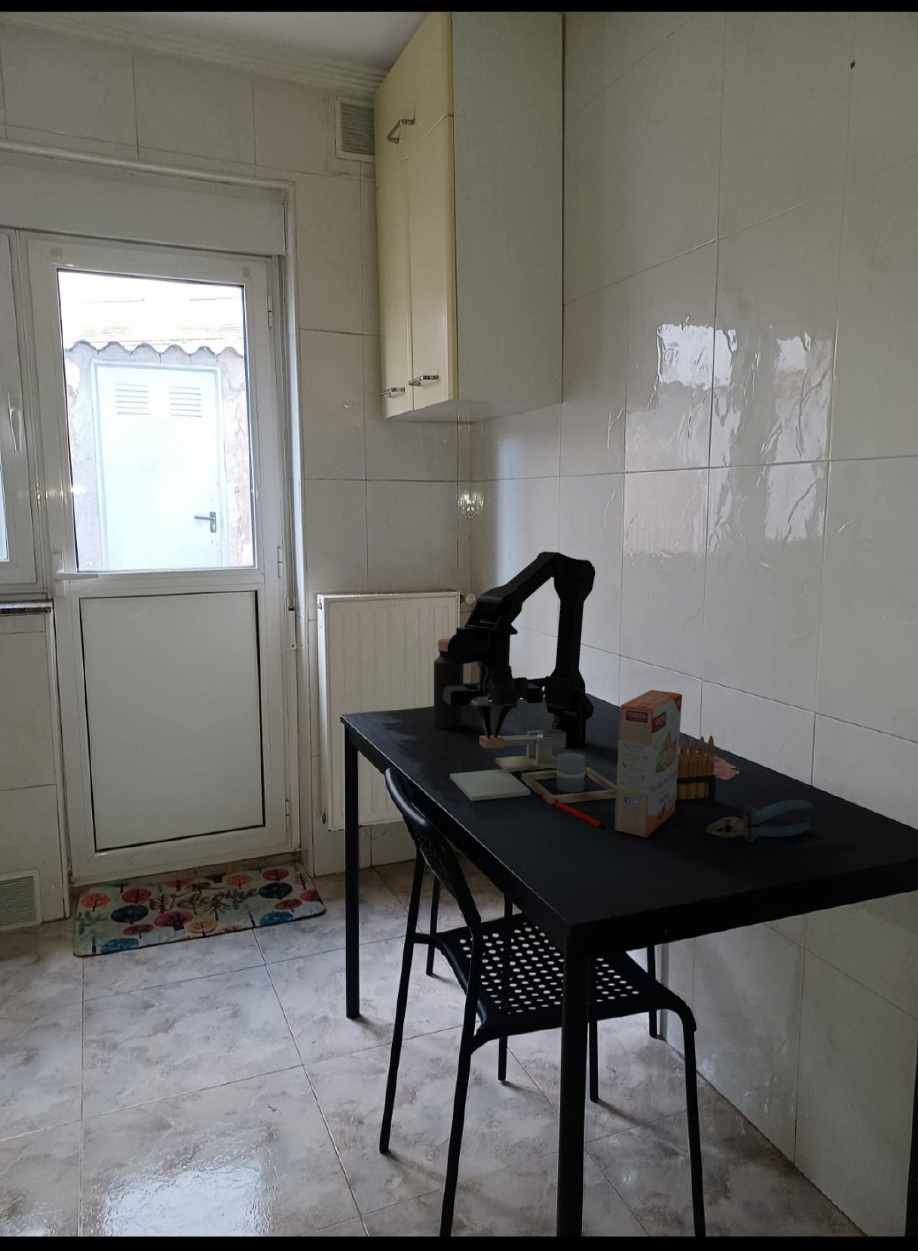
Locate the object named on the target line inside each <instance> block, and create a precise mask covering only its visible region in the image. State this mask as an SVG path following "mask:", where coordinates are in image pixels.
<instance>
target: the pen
mask: <svg viewBox="0 0 918 1251" xmlns="http://www.w3.org/2000/svg"><path fill="white" fill-rule="evenodd" d="M536 796H537V797H539V799H541V798H542V800H543V801H545V798H544V796H543V794H542V793H541V795H540V794H538V793H536ZM552 806H555V807H557V808H559V809H562V810H564V811H565V812H568V813H569V814H572V815H574V816H576V817H578V818H579V819H581V820H584V821H585V822H588V823H590V824H592V825H594V826H596V827H598V828H600V829H604V830H605V831H606V830H609V828H608V827H607V826H606V825H605V824H604V823H602V822H600V821H598V820H597V819H594V818H592V817H590V816H589V815H586V814H584V813H582V812H580V811H578V810H576V809H573V808H572V807H570V806H567V805H565V803H560V802H558V800H555V801H554V803H553V804H552Z"/></svg>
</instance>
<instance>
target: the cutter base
mask: <svg viewBox="0 0 918 1251" xmlns="http://www.w3.org/2000/svg"><path fill="white" fill-rule="evenodd" d="M526 735H537V730H527V731H526ZM552 746H553V738H552V737H542V738H536V745H526V755H517V756H507V757H495V758H494V762H495V763H496V764H497V765H498V766H499V767H500V769H506V770H507V771H508V772H510V773H516V772H515V771H521V772H523V771H522V770H532V771H535V770H534V769H543V770H545V769H544V768H553V769H557V756H555V755H554V754H553V749H552Z"/></svg>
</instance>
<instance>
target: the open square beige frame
mask: <svg viewBox="0 0 918 1251" xmlns="http://www.w3.org/2000/svg"><path fill="white" fill-rule="evenodd" d="M585 776H587V777H588V778H590V779H591V780H592V781H594V782H595V783H596V784H598V785H599V786H600V787H602V788H604V790H595V791H594V790H593V791H585V792H583V791H582V792H578V793H564V794H556V795H554V794H553V793H552V792H550V791H549V790H547V789H546V788H545V787H543V786H542V784H540V783H539V782H537V780H538V781H539V779H540V780H549V778H551V779H557V769H554V770H552V769H551V770H540V771H533V772H532V771H530V772H523V773H521V772H520V780H521V781H522V780H523V781H524V782H525V783H526V784H525V785H527V786H528V785H529V786H530V787H531V788H532V789H533V790H532V789H531V788H530V787H529V786H528V787H529V788H530V789H531V790H532V791H533V792H535V793H536V792H537V793H538V794H540V795H541V793H542V794H543V796H544V798H545V800H544V801H545V802H546V803H548V804H549V805H553V803H554V801H555V800H558V802H560V803H562V804H571V803H577V802H587V801H597V800H607V799H608V800H609V799H616V790H617V784H614V782H611V781H610V780H609V779H607V778H606V777H604V776H603V775H602V774H599V773H598V772H597V771H595V770H594V769H593V768H591V767H589V766H588V767H587V766H585ZM523 781H522V782H523ZM524 782H523V783H524ZM537 793H536V794H537Z"/></svg>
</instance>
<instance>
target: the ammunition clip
mask: <svg viewBox="0 0 918 1251" xmlns="http://www.w3.org/2000/svg"><path fill="white" fill-rule="evenodd" d="M679 747H680V754H679V759H678V769H677V785H676V801H675V808H676V807H687V806H697V805H708V804H709V805H710V804H715V803H716V785H717V784H716V780H717V778H716V775H715V774H714V769H715V758H714V756H715V741H714V737H713V735H711V734H710V736H709V738H708V742H707V748H706V743H705V738H704V736H703V735H701V737H700V738H699V741H698V746H697V744H696V739H695V737H694V736H692V737H691V738H690V742H689V747H688V745H687V740H686V737H683V738H682V740H681V742H680V745H679ZM687 749H689V753H688V759H687ZM696 751H698V754H697V759H696ZM705 753H706V759H705Z"/></svg>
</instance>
